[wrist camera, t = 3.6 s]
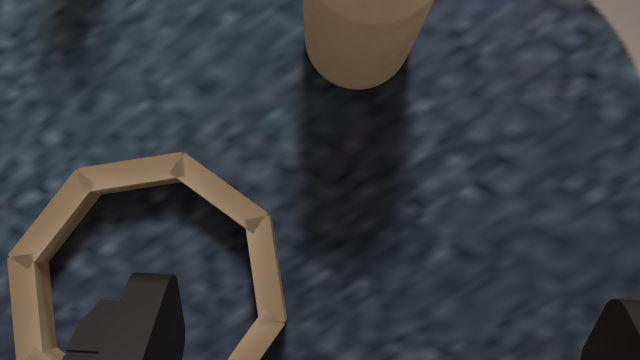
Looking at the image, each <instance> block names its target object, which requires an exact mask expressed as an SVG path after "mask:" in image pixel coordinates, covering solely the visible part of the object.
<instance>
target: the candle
mask: <svg viewBox="0 0 640 360" xmlns="http://www.w3.org/2000/svg"><path fill="white" fill-rule="evenodd" d="M433 2H434V0H303V13H304V38H305V46H306V51H307V54H308V56H309V59H310V61H311V63H312V64H313V66H314V67H315V69H316V70H317V71H318V72H319V73H320V75H322V76H323V77H324V78H325V79H326V80H328V81H329V82H331V83H333V84H335V85H337V86H340V87H343V88H347V89H355V90H360V89H368V88H372V87H375V86H378V85H380V84H382V83H384V82H386V81H387V80H389V79H390V78H391V77H392V76H393V75H395V74H396V73H397V71H398V70H399V69H400V68H401V66H402V65H403V63H404V61H405V60H406V58H407V56H408V54H409V52H410V50H411V48H412V46H413V44H414V41H415V39H416V37H417V35H418V33H419V31H420V29H421V27H422V25H423V23H424V21H425V18H426V16H427V14H428V12H429V10H430V8H431V6H432V4H433Z"/></svg>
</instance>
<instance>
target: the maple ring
mask: <svg viewBox="0 0 640 360" xmlns="http://www.w3.org/2000/svg"><path fill="white" fill-rule="evenodd" d="M179 182H183V183H184V184H186V185H187V186H188V187H190V188H191V189H192V190H194V191H195V192H197V193H198V194H199V195H201V196H202V197H203V198H205V199H206V200H207V201H209V202H210V203H212V204H213V205H214V206H216V207H217V208H218V209H220V210H221V211H222V212H224V213H225V214H227V215H228V216H229V217H231V218H232V219H233V220H235V221H236V222H238V223H239V224H240V225H242V226H243V227H244V228H246V234H247V241H248V248H249V255H250V262H251V269H252V276H253V283H254V290H255V297H256V303H257V310H258V318H257V319H256V321H255V322H254V324H253V325H252V326H251V328H250V329H249V331H248V332H247V333H246V335H245V336H244V337H243V339H242V340H241V342H240V343H239V344H238V346H237V347H236V349H235V350H234V351H233V353H232V354H231V356H230V357H229V358H228V360H260V359H261V357H262V356H263V354H264V353H265V352H266V350H267V349H268V347H269V346H270V345H271V343H272V342H273V340H274V339H275V337H276V336H277V335H278V333H279V332H280V330H281V329H282V328H283V326H284V325H285V323H286V319H287V316H286V309H285V303H284V296H283V289H282V283H281V276H280V269H279V263H278V256H277V250H276V243H275V236H274V230H273V223H272V217H270V215H269V214H268V213H267V212H266V211H264V210H263V209H261V208H260V207H259V206H257V205H256V204H255V203H253V202H252V201H250V200H249V199H248V198H246V197H245V196H244V195H242V194H241V193H239V192H238V191H237V190H235V189H234V188H233V187H231V186H230V185H228V184H227V183H226V182H224V181H223V180H222V179H220V178H219V177H217V176H216V175H215V174H213V173H212V172H211V171H209V170H208V169H206V168H205V167H204V166H202V165H201V164H200V163H198V162H197V161H195V160H194V159H193V158H191V157H190V156H189V155H187V154H186V153H183V152H179V153H172V154H166V155H159V156H153V157H147V158H140V159H134V160H127V161H121V162H114V163H108V164H102V165H95V166H89V167H82V168H78V170H75V171H74V172H73V174H72V175H71V176H70V177H69V179H68V180H67V181H66V182H65V184H64V185H63V186H62V188H61V189H60V190H59V191H58V193H57V194H56V195H55V196H54V198H53V199H52V200H51V201H50V203H49V204H48V205H47V206H46V208H45V209H44V210H43V211H42V213H41V214H40V215H39V217H38V218H37V219H36V220H35V222H34V223H33V224H32V225H31V227H30V228H29V229H28V230H27V232H26V233H25V234H24V235H23V237H22V238H21V239H20V240H19V242H18V243H17V244H16V246H15V247H14V248H13V249H12V251H11V252H10V253H9V254H8V255H9V256H10V257H8V258H7V261H8V272H9V284H10V295H11V306H12V318H13V329H14V340H15V351H16V360H62V358H63V356H64V355H66V354H65V353H64V352H62V351H61V350H60V349H59V348H57V341H56V331H55V321H54V310H53V300H52V290H51V280H50V269H49V261H50V260H51V259H52V257H53V256H54V255H55V254H56V252H57V251H58V250H59V248H60V247H61V246H62V245H63V243H64V242H65V241H66V240H67V238H68V237H69V236H70V234H71V233H72V232H73V231H74V229H75V228H76V227H77V225H78V224H79V223H80V222H81V220H82V219H83V218H84V216H85V215H86V214H87V213H88V211H89V210H90V209H91V208H92V206H93V205H94V204H95V202H96V201H97V200H98V199H99V197H100V196H101V195H103V194H109V193H115V192H122V191H128V190H134V189H141V188H147V187H153V186H160V185H166V184H172V183H179Z"/></svg>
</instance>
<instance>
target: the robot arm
mask: <svg viewBox="0 0 640 360" xmlns="http://www.w3.org/2000/svg"><path fill="white" fill-rule="evenodd" d="M184 344H185V323H184V317H183V311H182V305H181V299H180V293H179V287H178V281H177V277H176V276H175V275H174V274H155V273H133V274H132V275H131V277H130V278H129V280H128V283H127V285H126V287H125V290H124V292H123V295H122V297H121V300H120V301H106V300H101V301H100V302H99V303H98V304H97V305H96V306H95V307H94V308H93V309H92V310H91V311H90V312H89V313H88V314H87V315H86V316H85V317H84V318H83V319H82V320H81V321H80V322H79V324H78V326H77V328H76V330H75V332H74V335H73V337H72V339H71V341H70V343H69V345H68V347H67V353H66V355H64V356H63V358H62V360H182V357H183V351H184ZM581 360H640V300H624V299H612V300H610V301H609V302H608V303H607V304H606V305H605V307H604V309H603V311H602V313H601V315H600V317H599V319H598V321H597V322H596V324H595V326H594V328H593V330H592V332H591V334H590V336H589V338H588V339H587V341H586V343H585V345H584V347H583V350H582V354H581Z"/></svg>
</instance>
